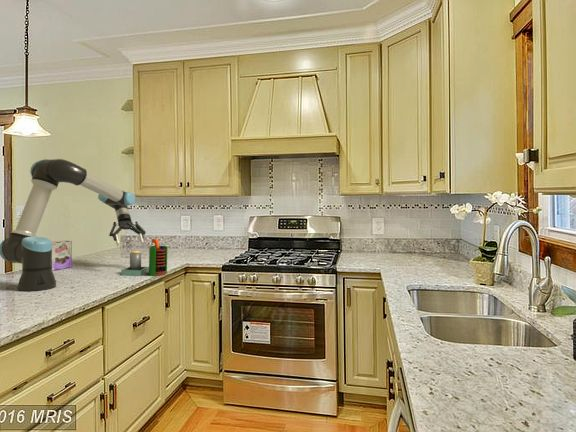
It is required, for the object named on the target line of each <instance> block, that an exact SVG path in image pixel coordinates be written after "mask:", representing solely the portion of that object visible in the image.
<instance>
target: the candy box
mask: <svg viewBox="0 0 576 432" xmlns="http://www.w3.org/2000/svg"><path fill="white" fill-rule="evenodd" d="M51 243H52V272H53V271H60V270H65V269H70V268H71V269H72V267H73V266H72V265H73V263H72V257H73V254H72V248H73V247H72V246H73V245H72V244H73V242H72V240H55V241H51Z"/></svg>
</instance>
